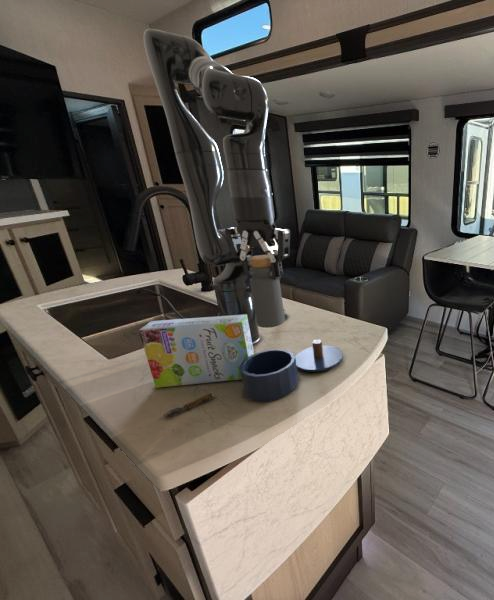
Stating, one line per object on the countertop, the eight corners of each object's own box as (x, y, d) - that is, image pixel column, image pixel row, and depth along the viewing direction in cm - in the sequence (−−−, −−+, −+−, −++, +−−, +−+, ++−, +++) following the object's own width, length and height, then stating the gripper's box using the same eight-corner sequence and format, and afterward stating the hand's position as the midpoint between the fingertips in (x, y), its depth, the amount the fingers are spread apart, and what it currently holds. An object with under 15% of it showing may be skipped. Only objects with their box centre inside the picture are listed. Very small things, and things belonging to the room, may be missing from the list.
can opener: (212, 396, 70) (211, 392, 70) (214, 401, 68) (213, 397, 68) (162, 414, 65) (161, 410, 64) (164, 421, 63) (162, 416, 63)
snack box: (257, 367, 82) (247, 313, 76) (252, 379, 76) (241, 322, 71) (166, 375, 78) (149, 319, 73) (154, 389, 73) (135, 329, 68)
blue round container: (233, 397, 70) (227, 371, 68) (266, 369, 81) (262, 346, 78) (278, 405, 67) (274, 379, 65) (307, 375, 78) (304, 352, 76)
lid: (284, 369, 80) (281, 350, 78) (310, 346, 92) (307, 328, 90) (329, 377, 77) (327, 356, 75) (350, 352, 89) (349, 333, 87)
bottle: (276, 329, 68) (265, 260, 63) (251, 326, 69) (239, 259, 64) (289, 318, 74) (281, 254, 68) (267, 316, 75) (257, 253, 70)
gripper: (294, 194, 64) (303, 275, 70) (234, 194, 67) (247, 271, 73) (271, 195, 57) (283, 285, 63) (205, 195, 60) (223, 280, 66)
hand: (264, 277), depth 68 cm, fingers closed on bottle, 5 cm apart
